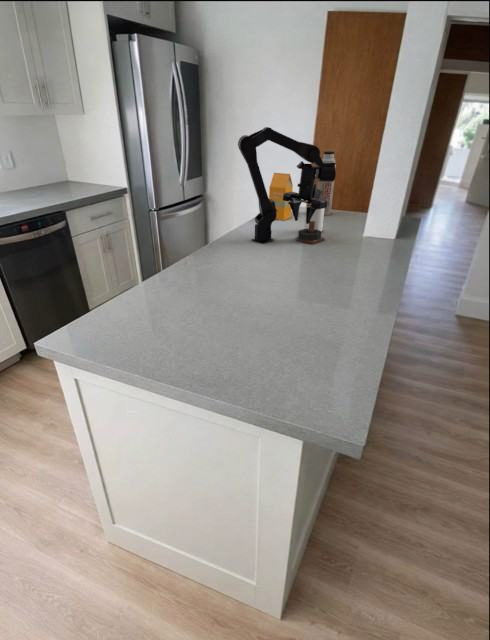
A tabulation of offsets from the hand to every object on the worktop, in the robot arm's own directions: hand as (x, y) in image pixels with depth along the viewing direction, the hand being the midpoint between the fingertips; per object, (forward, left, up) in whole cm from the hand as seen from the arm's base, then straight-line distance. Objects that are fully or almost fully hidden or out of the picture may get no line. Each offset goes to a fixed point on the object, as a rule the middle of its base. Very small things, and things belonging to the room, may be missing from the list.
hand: (301, 222), depth 176 cm
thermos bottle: (-20, +44, -7) cm, 49 cm away
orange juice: (-31, +23, -7) cm, 39 cm away
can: (-2, +13, -7) cm, 15 cm away
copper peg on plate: (+5, 0, -7) cm, 8 cm away
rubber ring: (+4, 0, -5) cm, 7 cm away
